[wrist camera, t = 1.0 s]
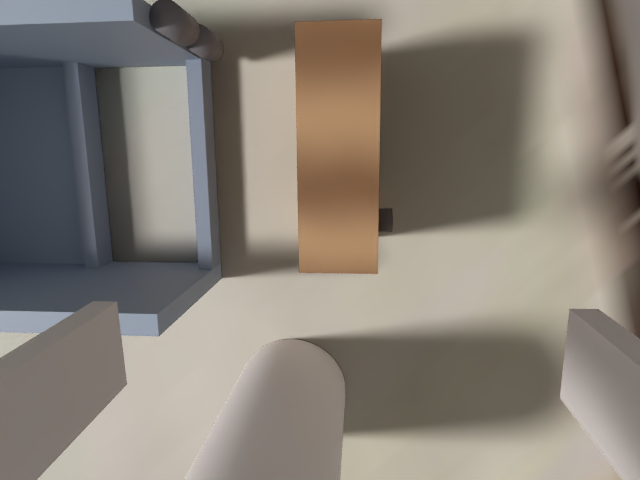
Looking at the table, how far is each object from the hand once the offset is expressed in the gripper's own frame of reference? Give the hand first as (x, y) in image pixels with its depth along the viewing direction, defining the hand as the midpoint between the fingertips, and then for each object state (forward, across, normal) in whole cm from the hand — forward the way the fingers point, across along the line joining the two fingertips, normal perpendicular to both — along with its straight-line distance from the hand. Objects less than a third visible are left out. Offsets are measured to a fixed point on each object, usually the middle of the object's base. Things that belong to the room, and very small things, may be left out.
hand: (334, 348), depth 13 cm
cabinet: (+20, -18, +4) cm, 27 cm away
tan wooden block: (+20, 0, +5) cm, 21 cm away
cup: (+20, -4, -13) cm, 24 cm away
